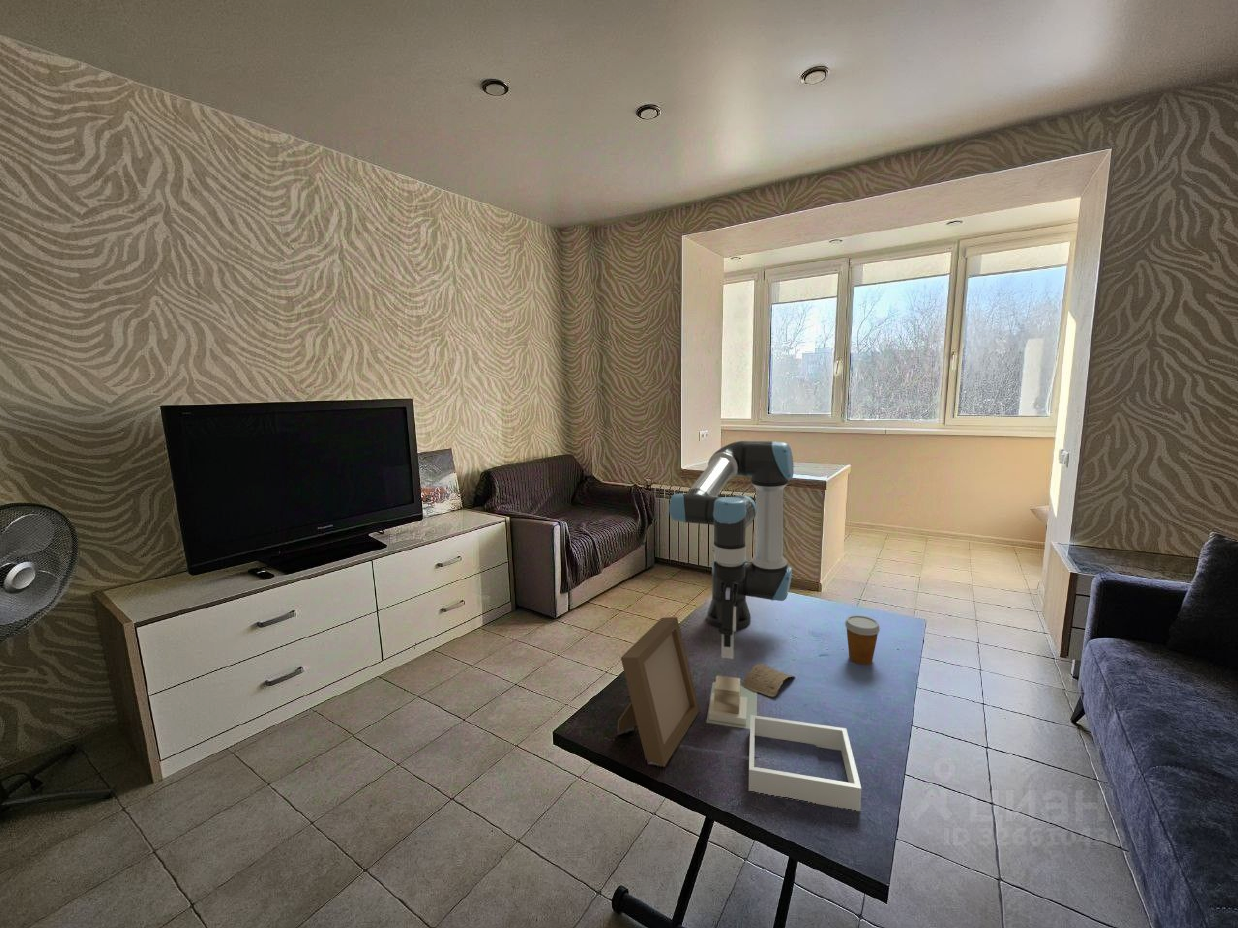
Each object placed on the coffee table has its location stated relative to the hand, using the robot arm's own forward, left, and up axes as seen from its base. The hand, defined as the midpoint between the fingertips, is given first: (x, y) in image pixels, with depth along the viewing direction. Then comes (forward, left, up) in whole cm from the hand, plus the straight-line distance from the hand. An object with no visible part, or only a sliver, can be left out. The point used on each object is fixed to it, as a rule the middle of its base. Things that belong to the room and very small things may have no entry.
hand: (729, 643), depth 126 cm
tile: (-4, 0, -18) cm, 18 cm away
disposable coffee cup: (-35, +37, -19) cm, 55 cm away
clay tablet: (-16, +10, -19) cm, 27 cm away
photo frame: (+11, -17, -19) cm, 28 cm away
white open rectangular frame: (+16, +16, -19) cm, 29 cm away
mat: (-3, +1, -19) cm, 19 cm away
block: (0, 0, -17) cm, 17 cm away
